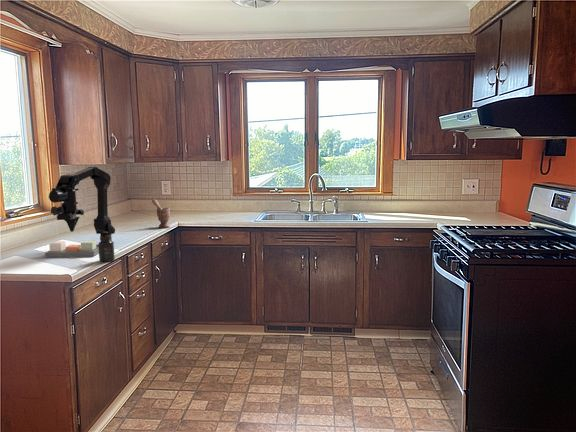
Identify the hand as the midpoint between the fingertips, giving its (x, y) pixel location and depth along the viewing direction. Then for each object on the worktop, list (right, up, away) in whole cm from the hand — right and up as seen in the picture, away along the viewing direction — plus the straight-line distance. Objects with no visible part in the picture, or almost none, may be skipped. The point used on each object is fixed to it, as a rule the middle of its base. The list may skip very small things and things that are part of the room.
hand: (72, 231), depth 221 cm
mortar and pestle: (+23, 0, +78) cm, 81 cm away
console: (0, -12, +2) cm, 12 cm away
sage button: (+7, -9, +2) cm, 12 cm away
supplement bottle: (+22, -14, -10) cm, 28 cm away
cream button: (-7, -9, +1) cm, 12 cm away
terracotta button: (0, -11, +2) cm, 11 cm away
